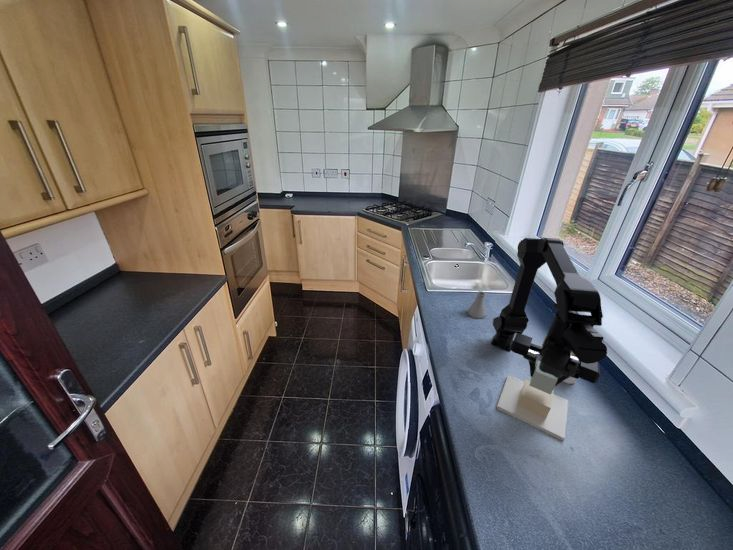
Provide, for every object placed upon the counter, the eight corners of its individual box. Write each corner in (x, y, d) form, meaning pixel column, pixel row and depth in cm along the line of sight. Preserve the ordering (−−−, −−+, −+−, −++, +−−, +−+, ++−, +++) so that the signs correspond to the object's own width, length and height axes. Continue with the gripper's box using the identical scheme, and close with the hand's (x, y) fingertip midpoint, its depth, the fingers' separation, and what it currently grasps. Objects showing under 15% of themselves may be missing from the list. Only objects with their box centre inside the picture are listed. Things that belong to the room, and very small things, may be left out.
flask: (489, 317, 121) (495, 296, 116) (475, 320, 118) (480, 299, 114) (477, 308, 127) (482, 287, 122) (463, 310, 124) (468, 290, 120)
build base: (507, 377, 92) (511, 364, 90) (567, 402, 84) (573, 390, 82) (496, 408, 82) (500, 395, 79) (563, 441, 74) (570, 427, 71)
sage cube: (532, 374, 82) (537, 360, 80) (552, 382, 80) (559, 368, 77) (529, 385, 79) (535, 371, 76) (550, 394, 76) (557, 380, 74)
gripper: (514, 335, 70) (498, 383, 77) (612, 370, 61) (583, 421, 68) (523, 313, 78) (507, 358, 85) (609, 342, 69) (584, 389, 76)
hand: (542, 380), depth 79 cm, fingers closed on sage cube, 5 cm apart
